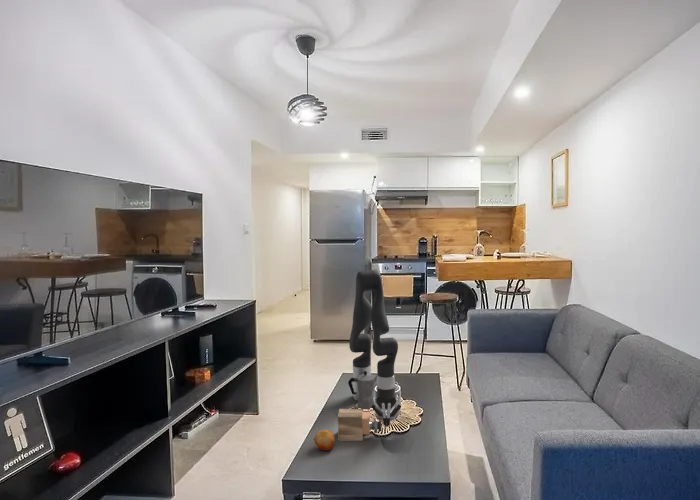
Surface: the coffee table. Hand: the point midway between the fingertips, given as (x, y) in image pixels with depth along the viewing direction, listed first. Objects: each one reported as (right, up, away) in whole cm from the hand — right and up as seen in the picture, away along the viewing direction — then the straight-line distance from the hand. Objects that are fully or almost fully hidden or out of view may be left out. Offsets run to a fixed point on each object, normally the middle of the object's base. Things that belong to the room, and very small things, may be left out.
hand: (386, 425), depth 182 cm
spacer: (-8, -2, +1) cm, 9 cm away
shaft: (-11, -3, +1) cm, 11 cm away
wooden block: (-15, -5, +1) cm, 16 cm away
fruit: (-25, -6, -8) cm, 27 cm away
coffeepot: (-9, -3, +29) cm, 30 cm away
